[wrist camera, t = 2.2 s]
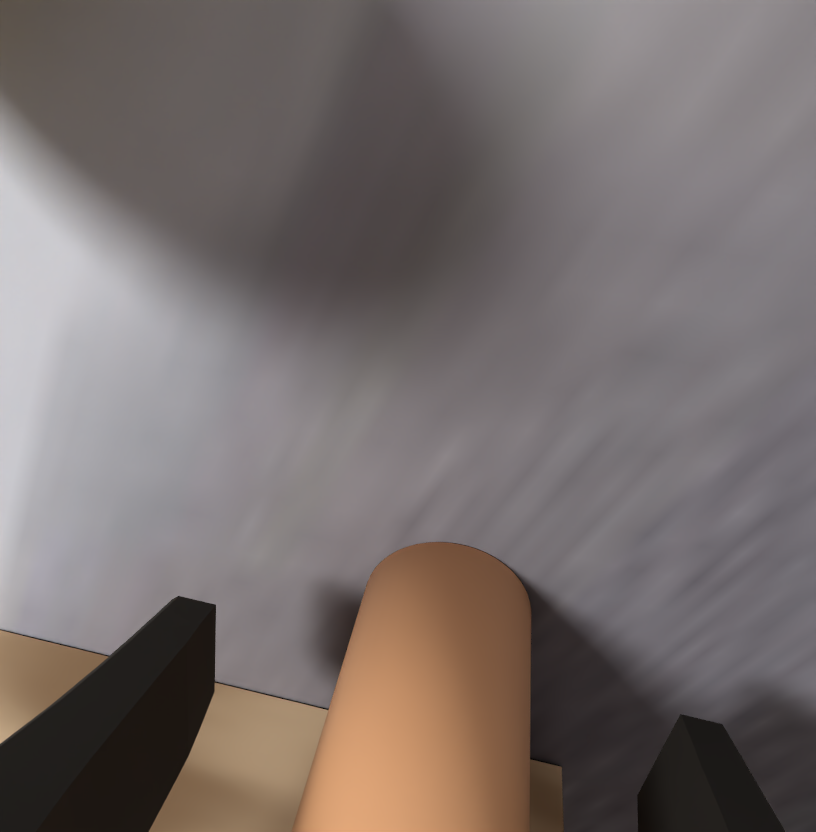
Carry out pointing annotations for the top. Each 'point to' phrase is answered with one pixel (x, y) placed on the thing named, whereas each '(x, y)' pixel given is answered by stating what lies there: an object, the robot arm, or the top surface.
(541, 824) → the box
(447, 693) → the peg
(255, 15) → the top surface
